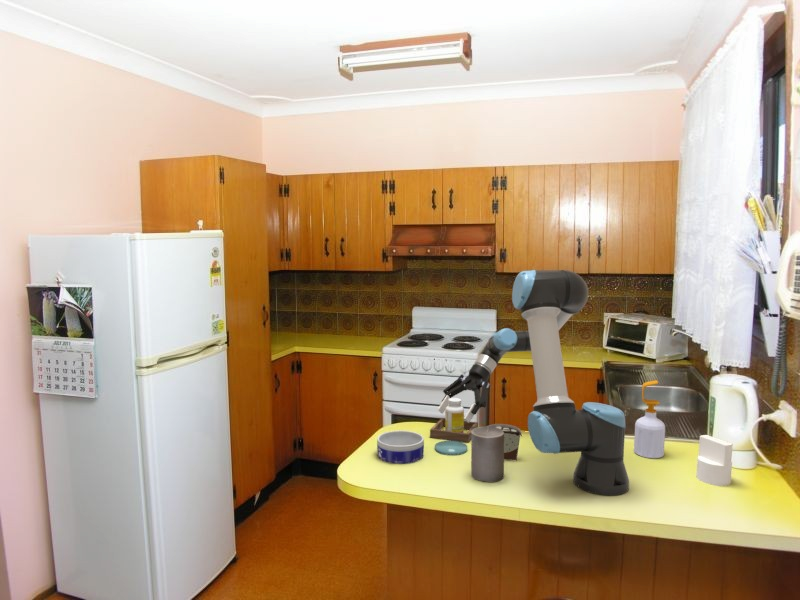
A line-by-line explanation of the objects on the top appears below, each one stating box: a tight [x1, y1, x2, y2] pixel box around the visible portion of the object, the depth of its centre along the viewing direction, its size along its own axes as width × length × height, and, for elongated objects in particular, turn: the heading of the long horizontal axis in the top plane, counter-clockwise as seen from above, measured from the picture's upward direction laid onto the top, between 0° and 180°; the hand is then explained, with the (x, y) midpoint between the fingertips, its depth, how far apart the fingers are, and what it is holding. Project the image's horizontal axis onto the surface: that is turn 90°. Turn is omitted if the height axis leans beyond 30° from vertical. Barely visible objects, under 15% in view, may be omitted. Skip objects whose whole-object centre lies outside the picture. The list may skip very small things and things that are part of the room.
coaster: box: [434, 440, 468, 456], centre depth 194 cm, size 11×11×1 cm
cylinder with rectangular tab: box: [695, 434, 733, 487], centre depth 170 cm, size 9×9×12 cm
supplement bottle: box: [444, 397, 465, 433], centre depth 208 cm, size 7×7×13 cm
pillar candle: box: [470, 425, 505, 483], centre depth 172 cm, size 10×10×15 cm
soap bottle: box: [633, 379, 666, 459], centre depth 189 cm, size 9×9×25 cm
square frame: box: [429, 417, 479, 444], centre depth 209 cm, size 14×14×3 cm
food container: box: [487, 423, 523, 461], centre depth 188 cm, size 12×6×10 cm, turn 84°
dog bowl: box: [376, 430, 425, 465], centre depth 189 cm, size 15×15×6 cm
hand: (452, 416), depth 208 cm, fingers open, 13 cm apart
